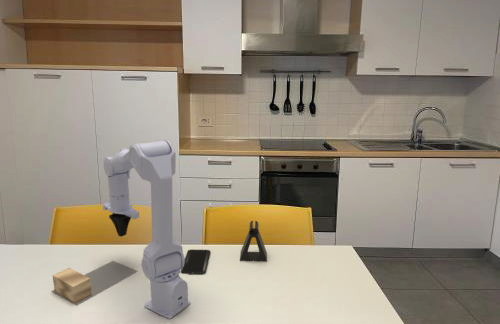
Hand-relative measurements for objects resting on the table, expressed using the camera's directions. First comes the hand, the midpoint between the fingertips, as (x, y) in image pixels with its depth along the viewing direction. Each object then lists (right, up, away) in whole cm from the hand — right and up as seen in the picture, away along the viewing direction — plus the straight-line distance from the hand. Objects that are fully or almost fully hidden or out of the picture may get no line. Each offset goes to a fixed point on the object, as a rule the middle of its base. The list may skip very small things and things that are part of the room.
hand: (122, 235), depth 119 cm
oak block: (-9, -9, -14) cm, 19 cm away
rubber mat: (-5, -12, -7) cm, 15 cm away
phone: (+23, -10, +5) cm, 25 cm away
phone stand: (+41, -9, +9) cm, 43 cm away
